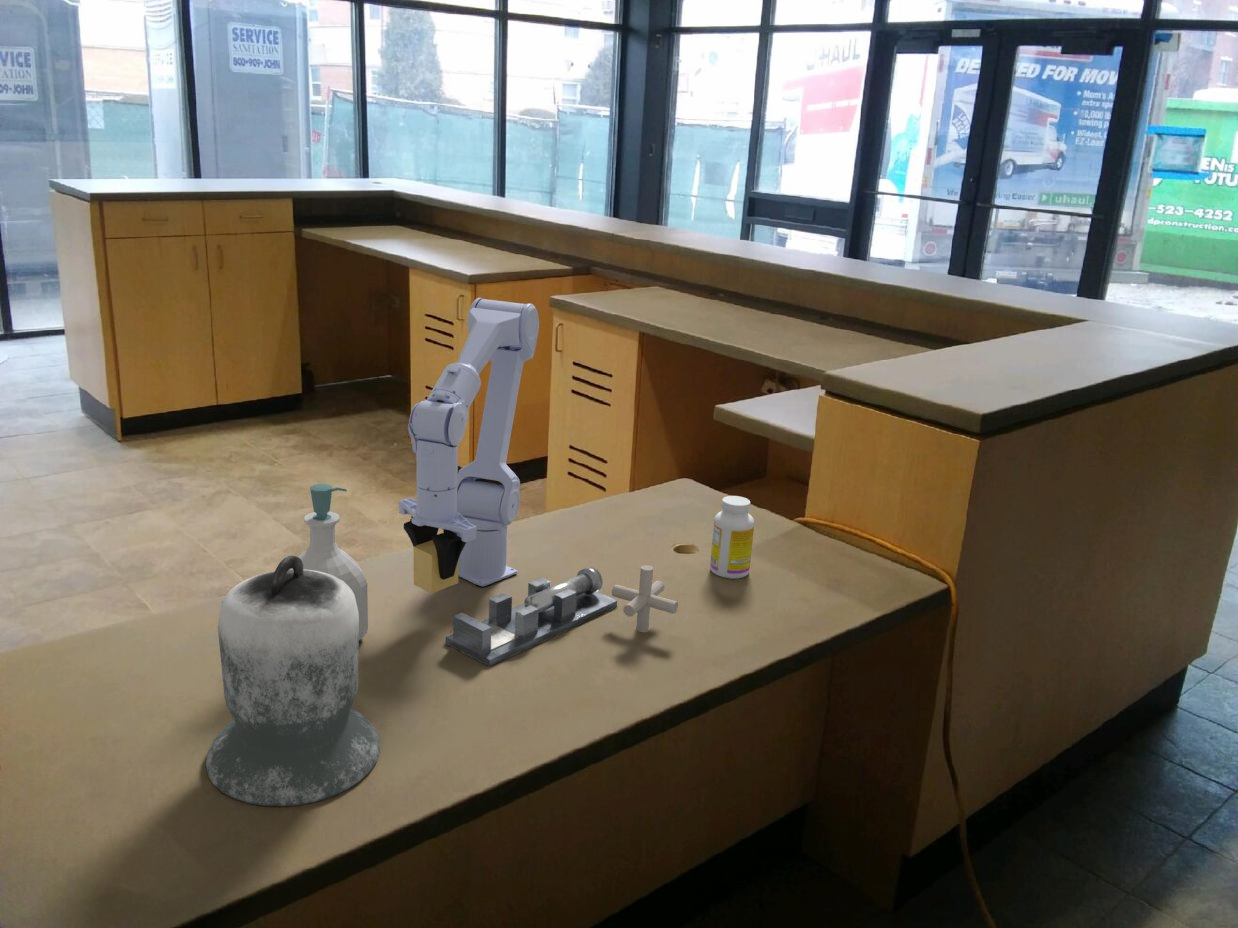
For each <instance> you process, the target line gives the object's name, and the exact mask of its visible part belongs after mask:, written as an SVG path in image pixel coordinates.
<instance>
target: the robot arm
mask: <svg viewBox="0 0 1238 928" xmlns="http://www.w3.org/2000/svg"><path fill="white" fill-rule="evenodd" d="M467 330H468V336H467V339H466V341H465V343H464V346H463V348H462V350H461V352H460V354H459V356H458V359H457V360H456V362H454V363H449V364H448V365H446V367H444V369H443V371H442V373H441V375H440V376H439V378H438V379H437V381H436V383H435V385H434V386H433V388H432V390H431V392H430V394H429V395H428V397H427V398H426V399H423V400H421V401H420V402H417V403H415V404H414V406H413V407H412V409H411V411H410V415H409V420H408V424H407V431H408V435H409V437H410V439H411V443H412V447H411V448H412V451H413V453H415V455H416V458H415V459H416V499H414V498H411V497H408V498H404V499H400V500H399V501H398V504H399V505H398V511H399V512H398V513H399V514H400V515H402V516H403V515H409V516H410V517H411V519H409V520H408V521H406V522H404V523H403V530H404V531H405V533H406V534H407V536H408V538H409V540H410V542H411V544H412V547H414V546H417V545H419V544H422V543H425V542H428V541H431V540H433V542H434V545H435V548H436V551H437V555H438V565H439V575H440V578H441V579H443V580H445V579H447V578H450V577H453V576H454V573H455V570H456V566H457V563H458V577H459V578H462V579H464V580H466V581H468V582H470V583H473V584H475V585H477V586H479V587H486V586H488V585H491V584H494V583H496V582H499V581H501V580H503V579H507V578H509V577H511V576H513V575H517V574H518V570H517V569H515V568H513V567H511V566H508V565H507V550H508V549H507V547H508V526H509V525H511V524H512V523H513V522H514V521H515V520H516V518H517V515H518V513H519V509H520V502H521V500H520V499H521V498H520V489H521V488H520V487H521V480H520V479H519V477H518V476H517V475H516V473H515V472H514V471H513V470H512V469H511V468H510V467H509V466H508V465H507V460H508V455H509V454H508V452H509V447H510V442H511V436H512V431H513V430H512V429H513V424H514V418H515V412H516V408H517V402H518V395H519V390H520V383H521V378H522V373H523V369H524V363H525V362H527V361H528V360H531V359H533V358H534V355H535V352H536V348H537V341H538V335H539V330H540V319H539V312H538V310H537V308H536V306H535V305H534V304H533V303H528V302H527V303H522V302H521V303H519V302H512V301H511V302H509V301H504V300H496V299H495V300H494V299H485V298H484V297H477V298H476V299H474V301H473V302H472V303H471V304H470V307H469V310H468V312H467ZM489 361H490V363H491V365H490V372H489V378H488V383H487V388H486V395H485V400H484V406H483V407H484V408H483V413H482V418H481V423H480V429H479V436H478V440H477V447H476V452H475V453H476V454H475V458H474V460H473V461H471V462H470V463H468V464H466V465H465V466H463V467H461V468H460V469H459V463H458V462H459V456H458V455H459V444H460V443H461V441H462V439H463V438H464V435H465V432H466V429H467V428H466V427H467V426H466V425H467V422H468V420H469V416H470V415H469V412H468V411H469V410H470V407H471V405H472V404H473V401H474V400H475V398H476V396H477V394H478V393H479V391H480V388H481V387H482V381H481V378H480V374H481V372H482V371H483V369H484V368H485V367H486V366H487V364H488V362H489ZM478 479H484V480H488V481H489V480H491V481H497V482H499V484H497V483H492V482H487V481H482V480H481V481H480V480H478ZM500 483H501V484H500ZM439 529H441V530H443V532H440V533H439Z"/></svg>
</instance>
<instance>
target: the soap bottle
mask: <svg viewBox="0 0 1238 928" xmlns="http://www.w3.org/2000/svg"><path fill="white" fill-rule="evenodd" d="M309 490H310V496H311V502H312V507H313V508H312V509H313V511H312V512H309V513H307V514H305V516H304V517H303V518H304V519H303V520H304V523H305V524H306V525H307V526H309V542H310V543H309V545H308V548H307V549H305V551H304V552H302V553H301V554H299V556H298V557H299V558H300V559H301V560H302V563H303V570H313V571H319V572H324V573H327V574H330V575H333V576H335V577H337V578H338V579H340V580H342V581H344V582H345V583H346V584H347V585H348V586H349V587H350V588H351V590H352V591H353V593H354V595H355V599H356V604H357V608H358V613H359V641H360V640H361V639H363V638H364V637H365V636H366V635H367V633H368V631H369V630H368V628H369V617H368V616H369V612H368V611H369V609H368V608H369V605H368V601H369V600H368V599H369V598H368V595H369V594H368V582H367V579H366V577H365V574H364V572H363V570H362V569H361V566H360V565H359V564H358V562H357V561H356V560H355V559H354V558H353V557H351V556H350V555H349V554H348V553H347V552H345V551H344V550H342V549H341V548H339V546H338V544H337V543H336V529H335V527H336V525H337V524H338V523H339V522H340V514H338V512H333V511H331V502H332V495H333V494H332V493H333V492H336V491H341V492H347V489H346V488H342V487H338V486H337V487H333V486H332V485H331V484H329V483H315V484H312V485H311V486H310V488H309ZM289 570H292V568H291V569H289Z"/></svg>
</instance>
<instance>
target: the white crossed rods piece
mask: <svg viewBox="0 0 1238 928" xmlns="http://www.w3.org/2000/svg"><path fill="white" fill-rule="evenodd" d="M653 575H654V567H653V566H652V565H649V564H648V565H647V564H644V565H641V566H640V573H639V585H638V590H637V589H633V588H630V587H627V586H623V585H619V584H614V585H613V587H612V590H611V596H612V597H614V598H618V599H621V600H624V601H628V603H627V604H626V605H624V606H623V607H622V608H623V609H622V610H623V613H624V615H625V616H626V617H628V618H629V617H630V618H631V617H632V616H635V614H636V615H637V616H636V625H635V630H636V631H637V632H639V633H647V632H648V631H649V627H650V612H651V608H652V609H655V610H659V611H663V612H666V613H669V614H673V615H674V614H676V613H677V610H678V607H679V603H678V601H676V600H672V599H668V598H665V597H662V596H658V595H660V594H661V593H662V592H663V591H664V590H665V584H664V583H663V581H661V580H656V581H654V582H653V579H654V578H653V577H654V576H653Z"/></svg>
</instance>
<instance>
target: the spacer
mask: <svg viewBox="0 0 1238 928" xmlns="http://www.w3.org/2000/svg"><path fill="white" fill-rule="evenodd" d="M412 547H413V546H412ZM412 550H413V585H414V586H416V587H418V588H420V589H422V590H424V591H426V592H428V593H430V594H434V593H437V592H439V591H442V590H444V589H446V588H450V587H451V586H454V585H457V584H459V576H458V563H457V566H456V570H455V573H454V576H453V577H450V578H447V579H445V580H443V579H441V578H440V575H439V565H438V555H437V551H436V548H435V545H434V542H433V540H431V541H428V542H425V543H422V544H419V545H417V546H414V547H413V549H412Z"/></svg>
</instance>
